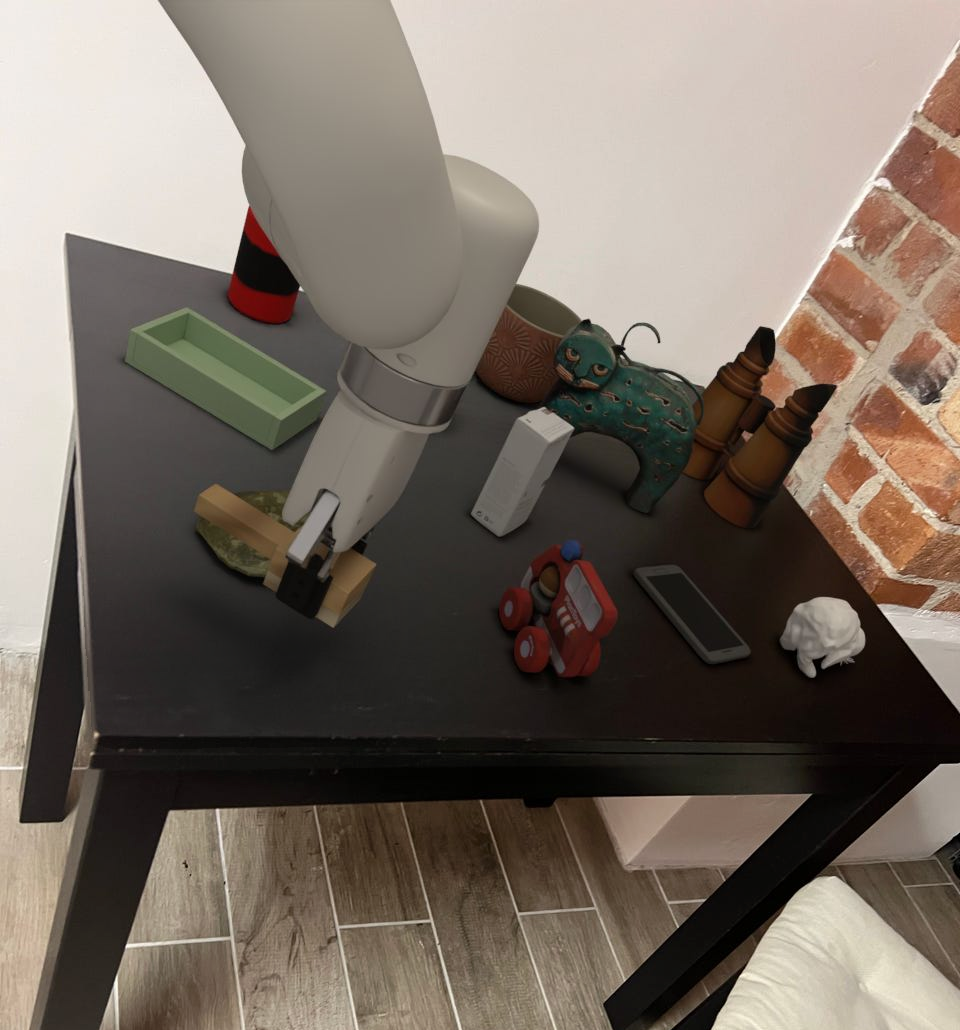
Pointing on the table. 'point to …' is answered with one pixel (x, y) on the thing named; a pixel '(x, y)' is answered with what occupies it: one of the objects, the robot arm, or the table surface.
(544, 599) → the toy fire truck
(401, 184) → the robot arm
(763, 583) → the table surface
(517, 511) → the cosmetic box
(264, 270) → the soda can
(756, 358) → the binoculars
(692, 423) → the ceramic cat
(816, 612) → the white frog figurine
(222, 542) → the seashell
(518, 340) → the planter
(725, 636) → the cell phone
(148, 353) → the bin
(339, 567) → the brush
